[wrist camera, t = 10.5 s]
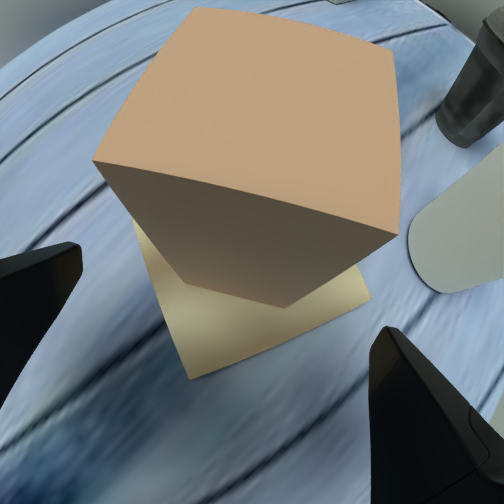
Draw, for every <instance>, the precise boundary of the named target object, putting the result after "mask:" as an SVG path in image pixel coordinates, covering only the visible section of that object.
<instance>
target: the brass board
mask: <svg viewBox="0 0 504 504" xmlns="http://www.w3.org/2000/svg"><path fill="white" fill-rule="evenodd" d="M132 220H133V224H134V227H135V230H136V234H137V237H138V241H139V244H140V247H141V250H142V254H143V257H144V260H145V263H146V266H147V269H148V272H149V275H150V278H151V281H152V284H153V287H154V290H155V293H156V296H157V299H158V301H159V304H160V307H161V310H162V312H163V315H164V318H165V321H166V323H167V326H168V328H169V331H170V334H171V336H172V339H173V341H174V344H175V346H176V349H177V351H178V354H179V356H180V359H181V361H182V363H183V366H184V368H185V371H186V373H187V375H188V378H189V380H192V379H194V378H197V377H200V376H203V375H205V374H208V373H211V372H213V371H216V370H218V369H221V368H224V367H226V366H229V365H231V364H234V363H236V362H239V361H241V360H244V359H246V358H248V357H251V356H253V355H256V354H258V353H260V352H263V351H265V350H267V349H270V348H272V347H274V346H277V345H279V344H281V343H283V342H286V341H288V340H290V339H292V338H294V337H297V336H299V335H301V334H303V333H305V332H307V331H310V330H312V329H314V328H316V327H318V326H320V325H322V324H324V323H326V322H328V321H330V320H332V319H334V318H336V317H338V316H340V315H342V314H344V313H346V312H348V311H350V310H352V309H354V308H356V307H358V306H360V305H362V304H364V303H366V302H368V301H370V300H371V299H372V297H371V295H370V293H369V290H368V288H367V286H366V284H365V282H364V279H363V277H362V275H361V273H360V271H359V269H358V267H357V264H355V265H353V266H352V267H350V268H349V269H347V270H346V271H344V272H343V273H341V274H339V275H338V276H336V277H335V278H333V279H332V280H330V281H329V282H327V283H325V284H324V285H322V286H321V287H319V288H318V289H316V290H314V291H313V292H311V293H310V294H308V295H306V296H305V297H303V298H301V299H300V300H298V301H297V302H295V303H293V304H292V305H290V306H288V307H287V308H285V309H283V308H279V307H275V306H271V305H266V304H262V303H258V302H254V301H250V300H246V299H242V298H239V297H235V296H231V295H227V294H223V293H219V292H216V291H212V290H208V289H204V288H201V287H197V286H193V285H190V284H186V283H184V282H183V281H182V280H181V278H180V277H179V276H178V275H177V273H176V272H175V271H174V270H173V269H172V267H171V266H170V265H169V264H168V262H167V261H166V260H165V259H164V257H163V256H162V255H161V254H160V252H159V251H158V250H157V248H156V247H155V246H154V245H153V243H152V242H151V241H150V239H149V238H148V237H147V236H146V234H145V233H144V232H143V230H142V229H141V228H140V226H139V225H138V224H137V222H136V221H135V220H134V218H133V217H132Z"/></svg>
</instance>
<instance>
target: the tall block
mask: <svg viewBox="0 0 504 504" xmlns="http://www.w3.org/2000/svg"><path fill="white" fill-rule="evenodd" d="M92 161H93V163H94V164H95V166H96V167H97V169H98V170H99V171H100V173H101V174H102V176H103V177H104V179H105V180H106V181H107V183H108V184H109V186H110V187H111V188H112V190H113V191H114V193H115V194H116V195H117V197H118V198H119V199H120V201H121V202H122V204H123V205H124V206H125V208H126V209H127V210H128V212H129V213H130V214H131V216H132V217H133V218H134V220H135V221H136V222H137V224H138V225H139V226H140V228H141V229H142V230H143V232H144V233H145V234H146V236H147V237H148V238H149V239H150V241H151V242H152V243H153V245H154V246H155V247H156V248H157V250H158V251H159V252H160V254H161V255H162V256H163V257H164V259H165V260H166V261H167V262H168V264H169V265H170V266H171V267H172V269H173V270H174V271H175V272H176V273H177V275H178V276H179V277H180V278H181V280H182V281H183V282H184V283H186V284H190V285H193V286H197V287H201V288H204V289H208V290H212V291H216V292H219V293H223V294H227V295H231V296H235V297H239V298H242V299H246V300H250V301H254V302H258V303H262V304H266V305H271V306H275V307H279V308H283V309H285V308H287V307H288V306H290V305H292V304H293V303H295V302H297V301H298V300H300V299H301V298H303V297H305V296H306V295H308V294H310V293H311V292H313V291H314V290H316V289H318V288H319V287H321V286H322V285H324V284H325V283H327V282H329V281H330V280H332V279H333V278H335V277H336V276H338V275H339V274H341V273H343V272H344V271H346V270H347V269H349V268H350V267H352V266H353V265H355V264H356V263H358V262H359V261H361V260H362V259H364V258H365V257H367V256H368V255H370V254H371V253H373V252H374V251H376V250H377V249H379V248H380V247H382V246H383V245H384V244H386V243H387V242H389V241H390V240H392V239H393V238H395V237H396V236H397V235H399V219H400V193H401V149H400V124H399V108H398V96H397V85H396V76H395V68H394V60H393V53H392V51H391V50H388V49H386V48H383V47H381V46H378V45H375V44H373V43H370V42H367V41H364V40H361V39H358V38H355V37H352V36H349V35H346V34H343V33H340V32H336V31H333V30H329V29H326V28H322V27H319V26H315V25H311V24H307V23H303V22H298V21H294V20H289V19H284V18H279V17H274V16H269V15H263V14H257V13H250V12H243V11H235V10H226V9H216V8H203V7H195V8H194V9H193V10H192V12H191V13H190V14H189V15H188V16H187V17H186V19H185V20H184V21H183V22H182V23H181V24H180V26H179V27H178V28H177V29H176V31H175V32H174V33H173V34H172V36H171V37H170V38H169V39H168V41H167V42H166V43H165V44H164V46H163V47H162V48H161V50H160V51H159V52H158V54H157V55H156V56H155V58H154V59H153V60H152V62H151V63H150V65H149V66H148V67H147V69H146V70H145V72H144V73H143V75H142V76H141V78H140V79H139V80H138V82H137V83H136V85H135V86H134V88H133V89H132V91H131V93H130V94H129V96H128V97H127V99H126V100H125V102H124V104H123V105H122V107H121V108H120V110H119V112H118V113H117V115H116V117H115V118H114V120H113V122H112V124H111V125H110V127H109V129H108V131H107V132H106V134H105V136H104V138H103V140H102V141H101V143H100V145H99V147H98V149H97V151H96V153H95V155H94V157H93V159H92Z"/></svg>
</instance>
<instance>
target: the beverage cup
mask: <svg viewBox="0 0 504 504" xmlns="http://www.w3.org/2000/svg"><path fill="white" fill-rule="evenodd" d="M436 121H437V124H438V126H439V128H440V130H441V131H442V133H443V134H444V135H445V136H446V137H447V138H448V139H449V140H450V141H451V142H452V143H454V144H455V145H457V146H459V147H462V148H467V147H469V146H470V145H471V144H472V143H474V142H476V141H477V140H479V139H481V138H482V137H483V136H485V135H486V134H487V133H489V132H490V131H491V130H492V129H494V128H495V127H496V126H498V125H499V124H500V123H501V122H503V121H504V6H503V7H500V8H498V9H496V10H494V11H493V12H492V13H491V14H490V15H489V16H488V17H487V18H485V19H484V20H483V26H482V27H481V29H480V32H479V34H478V37H477V43H476V45H475V47H474V49H473V50H472V52H471V54H470V56H469V58H468V59H467V61H466V63H465V65H464V66H463V68H462V70H461V72H460V73H459V75H458V77H457V79H456V80H455V82H454V84H453V85H452V87H451V89H450V90H449V92H448V94H447V95H446V97H445V99H444V100H443V102H442V105H441V107H440V108H439V111H438V112H437V113H436Z"/></svg>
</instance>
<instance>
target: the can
mask: <svg viewBox="0 0 504 504" xmlns="http://www.w3.org/2000/svg"><path fill="white" fill-rule="evenodd" d="M408 245H409V252H410V256H411V259H412V262H413V265H414V267H415V269H416V271H417V272H418V274H419V275H420V277H421V278H422V279H423V281H424V282H425V283H426V284H427V285H428V286H430V287H431V288H433V289H434V290H436V291H438V292H441V293H455V292H459V291H462V290H466V289H469V288H473V287H476V286H479V285H482V284H486V283H489V282H492V281H495V280H498V279H501V278H504V141H503V142H502V143H501V144H500V145H499V146H498V147H496V148H495V149H494V150H493V151H492V152H491V153H490V154H488V155H487V156H486V157H485V158H484V159H483V160H481V161H480V162H479V163H478V164H477V165H475V166H474V167H473V168H472V169H471V170H470V171H468V172H467V173H466V174H465V175H464V176H462V177H461V178H460V179H459V180H458V181H456V182H455V183H454V184H453V185H451V186H450V187H449V188H448V189H447V190H445V191H444V192H443V193H442V194H440V195H439V196H438V197H437V198H435V199H434V200H433V201H432V202H431V203H429V204H428V205H427V206H426V207H424V208H423V209H422V210H421V211H420V212H419V213H418V214H417V215H416V216H415V217H414V219H413V220H412V222H411V225H410V228H409V234H408Z"/></svg>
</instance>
